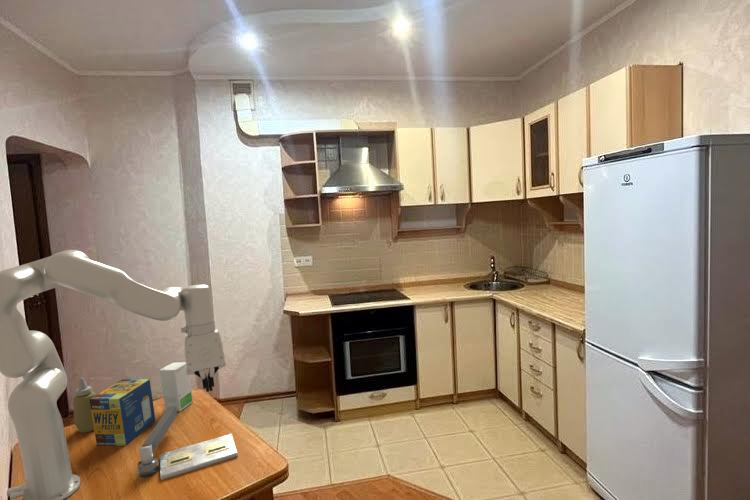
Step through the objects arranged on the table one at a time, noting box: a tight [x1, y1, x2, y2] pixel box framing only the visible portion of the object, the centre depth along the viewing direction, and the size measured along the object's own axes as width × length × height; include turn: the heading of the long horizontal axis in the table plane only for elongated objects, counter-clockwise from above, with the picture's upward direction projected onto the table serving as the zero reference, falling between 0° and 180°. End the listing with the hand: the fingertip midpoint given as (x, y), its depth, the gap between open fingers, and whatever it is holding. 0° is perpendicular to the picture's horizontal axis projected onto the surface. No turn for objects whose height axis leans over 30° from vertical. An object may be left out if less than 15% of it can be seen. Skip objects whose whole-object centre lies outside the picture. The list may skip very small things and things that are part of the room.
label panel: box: [159, 433, 239, 481], centre depth 129 cm, size 20×12×2 cm, turn 115°
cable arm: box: [138, 406, 178, 465], centre depth 134 cm, size 26×3×4 cm, turn 8°
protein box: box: [89, 378, 156, 447], centre depth 145 cm, size 10×15×16 cm
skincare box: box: [158, 361, 194, 413], centre depth 162 cm, size 8×7×16 cm
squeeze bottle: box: [72, 377, 97, 434], centre depth 150 cm, size 8×8×18 cm
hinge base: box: [137, 456, 160, 479], centre depth 123 cm, size 5×5×3 cm
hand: (209, 389), depth 128 cm, fingers closed
